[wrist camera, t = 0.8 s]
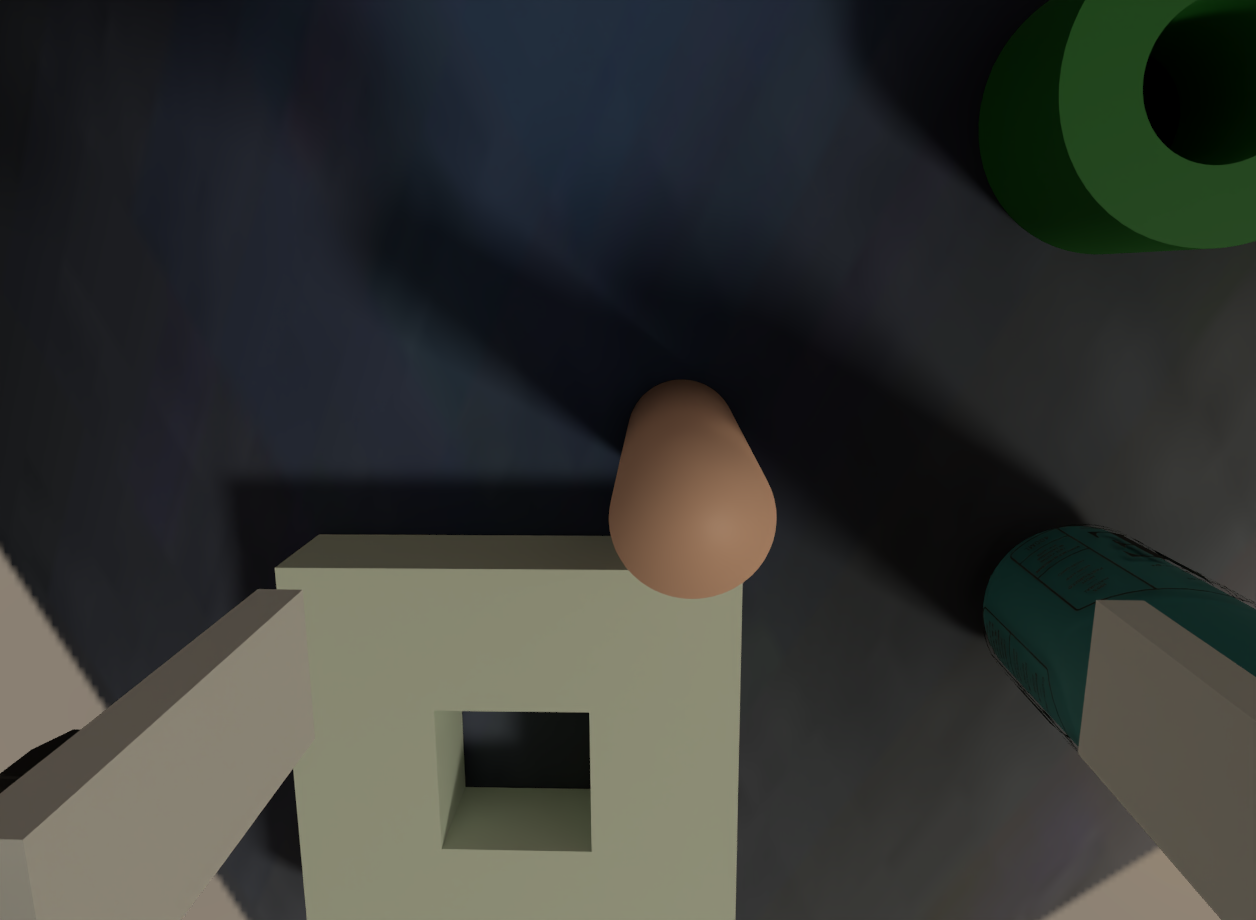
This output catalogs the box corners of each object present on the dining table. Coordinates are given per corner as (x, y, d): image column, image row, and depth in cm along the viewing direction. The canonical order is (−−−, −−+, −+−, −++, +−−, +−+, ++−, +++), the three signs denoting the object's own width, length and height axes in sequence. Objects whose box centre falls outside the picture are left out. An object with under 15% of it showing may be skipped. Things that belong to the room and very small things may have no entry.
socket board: (319, 534, 34) (274, 567, 30) (732, 536, 33) (742, 570, 30) (348, 896, 37) (311, 969, 33) (726, 904, 37) (733, 979, 33)
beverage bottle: (949, 661, 34) (1335, 1176, 15) (976, 496, 33) (1443, 819, 13) (1117, 677, 34) (1735, 1217, 14) (1152, 512, 33) (1887, 862, 13)
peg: (627, 379, 32) (608, 437, 21) (736, 379, 32) (779, 437, 20) (628, 485, 33) (609, 598, 21) (733, 485, 33) (774, 599, 21)
